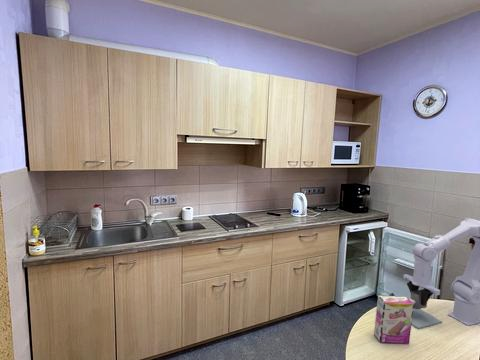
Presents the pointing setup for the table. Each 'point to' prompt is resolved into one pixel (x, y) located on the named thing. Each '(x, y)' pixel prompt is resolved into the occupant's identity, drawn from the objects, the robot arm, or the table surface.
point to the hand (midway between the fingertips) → (418, 302)
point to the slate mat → (423, 319)
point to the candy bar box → (393, 319)
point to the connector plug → (417, 299)
